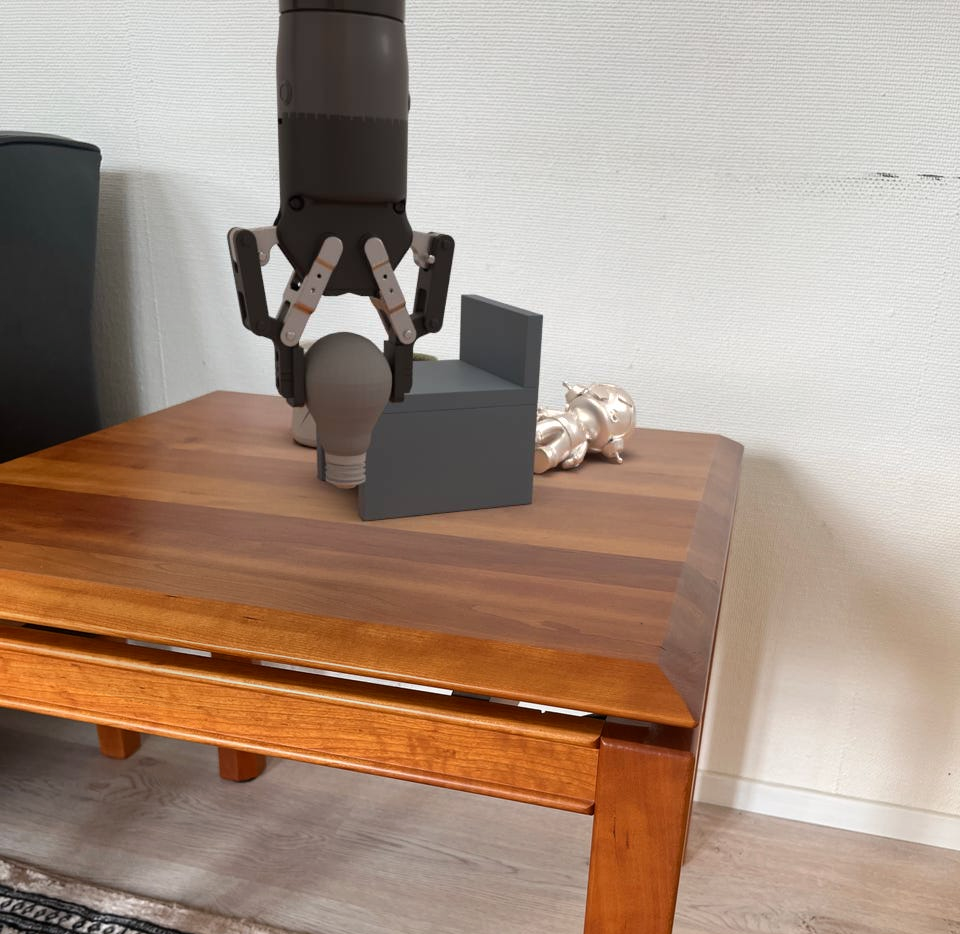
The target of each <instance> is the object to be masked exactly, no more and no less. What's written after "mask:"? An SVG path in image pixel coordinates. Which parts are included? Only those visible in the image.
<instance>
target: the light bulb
mask: <svg viewBox="0 0 960 934" xmlns="http://www.w3.org/2000/svg"><path fill="white" fill-rule="evenodd" d="M382 352H383V351H382V350H381V349H380V348H379V347H378V346H377V345H376V344H375V343H374V342H373V341H372V340H371V339H369V338H367V337H366V336H364V335H361V334H358V333H356V332H355V333H354V332H351V331H337V332H333V333H328V334H326V335H323V336H321V337H320V338H318V340H317V341H316V342H315V343H314V344H313V345H312V346H311V347H310V348H309V349H308V350H307V352H306V353H305V355H304V383H305V405H306V407H307V409H308V411H309V412H310V414H311V415H312V417H313V419H314V421H315V423H316V425H317V427H318V429H319V436H320V442H321V445H322V447H323V448H324V450H325V462H326V463H327V464H326V466H325V468H326V469H327V470H326V475H327V476H326V480H325V481H326V482H327V483H329V484H331V485H333V486H335V487H336V488H340V489H352V488H356V486H358V484H361V483H363V482H365V475H364V474H363V473H364V472H365V471H366V470H365V469H364V468H363V467H364V466H365V465H366V464H365V463H364V462H365V460H366V451H367V449H368V447H369V445H370V440H371V433H372V430H373V428H374V426H375V424H376V422H377V420H378V418H379V416H380V415H381V413H382V412H383V410H384V408H385V406H386V404H387V402H388V400H389V397H390V393H391V388H392V373H391V369H390V366H389V364H388V362H387V359H386V358H385V356H384V354H383V353H382Z"/></svg>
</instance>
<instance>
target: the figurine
mask: <svg viewBox="0 0 960 934" xmlns="http://www.w3.org/2000/svg"><path fill="white" fill-rule="evenodd" d="M562 386H563V387H565V388H567V390H568V391H567V392H566V393H565V394H564V398H565V403H566V404H565V409H564V410H562V409H558V408H551V407H548V406H547V407H546V406H545V407H543V406H538V408H537V424H536V440H535V447H537V448H535V457H534V473H535V474H538V475H539V474H542V473H545V472H546V471H547V470H548V469H551V468H555V467H557V466H558V464H560V463H561V462H562V465H561V467H562V469H564V470H568V469H572V468H574V467H578V466H579V465H580V463H583V462H584V457H585V456H586V454H587V453H589V454H599V453H600V454H601V455H603V456H605V457H607V458H608V459H609V458H614V457H615V458H616V463H617V464H622V463H623V458H622V457H620V455H619V454H621V453H622V452H623V451H624V444H625V443H626V442H627V441H629V439H630V438H631V437H632V435H633V434H634V431H635V429H636V426H637V417H638V416H637V408H636V405H635V402H634V399H633V397H632V396H631V395H630V394H629V392H627V390H626V389H624V388H622V387H621V386H619V385H617V384H616V383H612V382H599V383H597V382H595V381H592V382H591V383H589V384H588V385H587V386H585V385H581V384H579V383H576V384H575V385H574V386H572V387H571V386H570V385H569V381H568V380H563V382H562ZM538 446H539V447H538Z"/></svg>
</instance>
